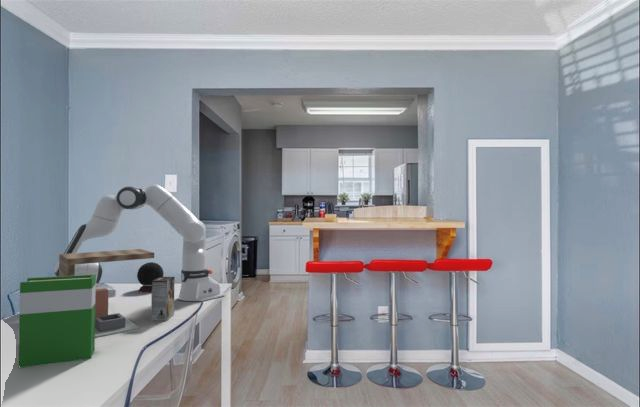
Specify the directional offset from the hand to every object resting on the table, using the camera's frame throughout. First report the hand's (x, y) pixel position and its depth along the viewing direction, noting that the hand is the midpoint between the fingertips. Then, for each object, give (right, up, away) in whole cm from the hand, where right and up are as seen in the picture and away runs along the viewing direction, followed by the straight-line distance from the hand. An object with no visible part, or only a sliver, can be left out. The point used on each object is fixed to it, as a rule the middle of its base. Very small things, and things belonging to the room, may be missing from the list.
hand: (93, 298), depth 162 cm
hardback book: (+17, -6, -47) cm, 51 cm away
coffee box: (+31, -7, -4) cm, 32 cm away
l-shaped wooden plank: (+17, -6, -19) cm, 26 cm away
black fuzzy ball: (+3, -7, +46) cm, 47 cm away
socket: (+17, -6, -19) cm, 26 cm away
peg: (+8, -6, -8) cm, 13 cm away
